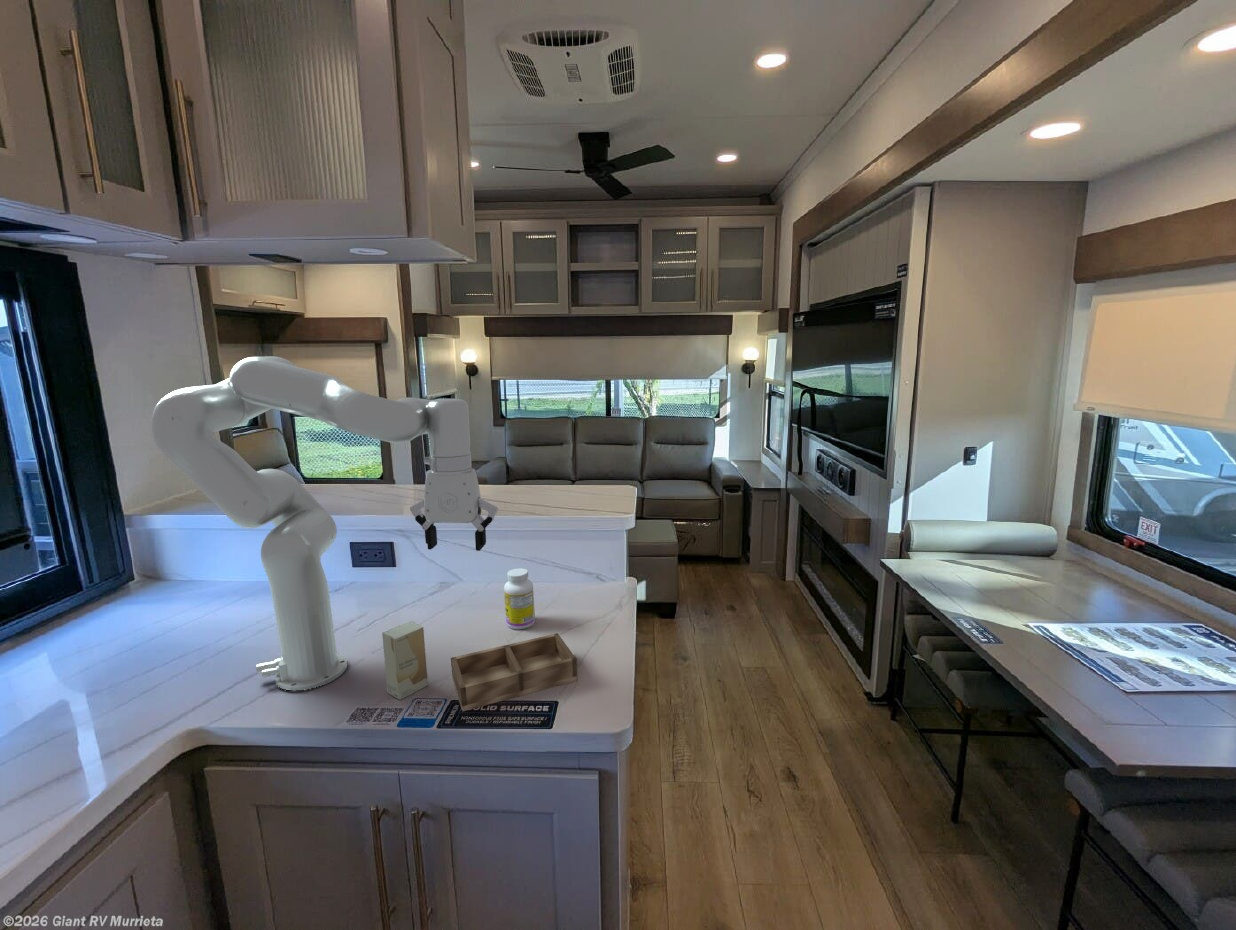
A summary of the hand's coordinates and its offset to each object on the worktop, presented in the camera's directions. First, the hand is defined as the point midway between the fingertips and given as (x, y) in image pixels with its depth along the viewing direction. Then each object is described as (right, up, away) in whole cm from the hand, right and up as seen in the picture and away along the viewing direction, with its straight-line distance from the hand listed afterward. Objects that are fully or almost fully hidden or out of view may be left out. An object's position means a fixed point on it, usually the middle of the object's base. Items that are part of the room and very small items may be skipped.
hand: (456, 547), depth 113 cm
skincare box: (-8, -26, -5) cm, 28 cm away
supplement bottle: (+9, -21, +20) cm, 30 cm away
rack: (+12, -25, -3) cm, 28 cm away
